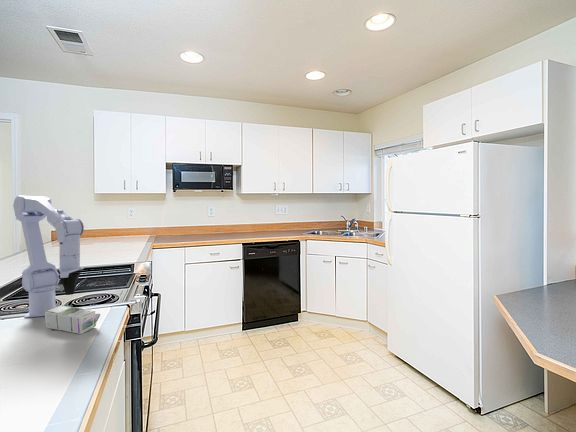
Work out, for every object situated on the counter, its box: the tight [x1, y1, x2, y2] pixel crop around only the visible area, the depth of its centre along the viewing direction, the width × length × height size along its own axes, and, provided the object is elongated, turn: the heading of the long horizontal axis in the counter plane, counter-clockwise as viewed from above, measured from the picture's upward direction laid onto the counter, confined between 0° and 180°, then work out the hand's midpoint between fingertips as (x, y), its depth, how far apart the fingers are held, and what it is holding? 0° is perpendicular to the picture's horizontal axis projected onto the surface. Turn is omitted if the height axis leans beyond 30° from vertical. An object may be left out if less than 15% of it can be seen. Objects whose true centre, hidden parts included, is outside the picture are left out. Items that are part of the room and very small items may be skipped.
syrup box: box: [44, 304, 97, 335], centre depth 102 cm, size 6×6×14 cm
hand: (69, 294), depth 107 cm, fingers closed
